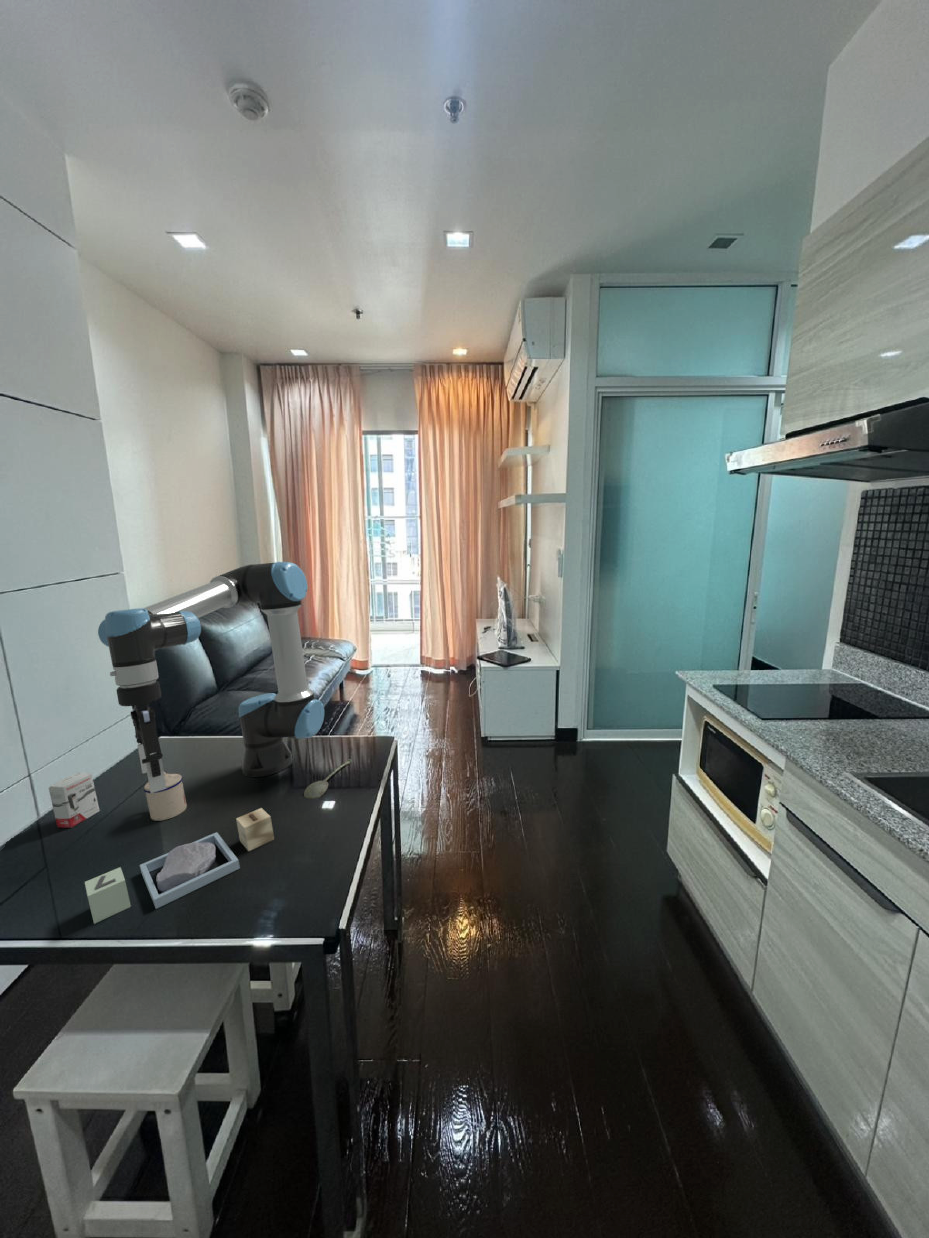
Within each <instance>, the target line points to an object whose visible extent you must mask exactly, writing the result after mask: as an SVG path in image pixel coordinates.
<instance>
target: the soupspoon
mask: <svg viewBox="0 0 929 1238" xmlns="http://www.w3.org/2000/svg"><path fill="white" fill-rule="evenodd" d="M351 764H353V761H352V759H347V760H346V762H343V764H342V765H340V766H339V767H337V768H336V769H334V771H332V772H331V773H330V774H328V776H326V777H325V778H324V779H323V780H317V781H314V782H312V783H311V784H309V785H308V786H307V787H306V788H305V790H304V792H303V797H304V798H306V799H318V798H321V797H322V796H323V795H324V794H325V792H327V789H328V788H329V782H328V780H329V779H330V778H331V777H332V776H333V775H334V774H335V773H337V772H338V771H339V770H340V769H342V768H343V767H344V766H347V765H351Z"/></svg>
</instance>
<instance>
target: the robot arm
mask: <svg viewBox="0 0 929 1238" xmlns="http://www.w3.org/2000/svg"><path fill="white" fill-rule="evenodd" d="M307 592H308V581H307V578H306V575H305V572H303V570H302V569H301V568H300V567H299V565H297V564H296V563H293V562H290V561H276V562H266V563H255V564H247V565H244V566H239V567H238V568H235V569H233V570H229V571H227V572H225V573H223V574H220V575H216V576H215V577H213V578H212V579H210V581H209V583H206V584H204V585H201V586H198V587H195V588H193V589H191V590H187V591H185V592H182V593H180V594H178V595H175V596H172V597H170V598H168V599H163V600H162V601H159V602H157V603H154V604H152V605H149V606H145V607H141V608H130V609H129V608H128V609H122V610H121V609H120V610H119V609H118V610H112V611H110V612H107V613H106V615H105V618H104V619H103V620H102V621H101V622H100V624H99V625H98V629H97V635H98V638H99V641H100V642H101V643H102V644H103V645H104V646H106V647H108V649H109V654H110V659H111V665H112V669H113V671H110V672H109V676H110V677H114V681H115V686H118V687H117V688H116V696H117V702H118V705H119V706H121V707H131V709H132V710H131V711H130V718H131V720H132V724H133V727H134V733H135V735H134V737H135V739H136V743H137V748H138V749H137V750H138V756H139V760H140V766H141V768H140V769H141V773H142V774H146V773H147V775H146V776H147V779H148V781H147V782H149V787H150V792H151V793H154V792H157V791H160V790H163V789H166V783H165V777H164V772H165V771H164V764H163V761H162V760H163V756H164V755H163V753H162V750H161V745H160V741H159V735H158V730H157V722H156V712H155V709H153V707H152V706H151V707H150V703H152V702H156V701H158V700H160V699H161V698H162V691H161V684H160V682H159V681H158V679H159V671H158V670H159V669H158V665H157V660H156V654H155V653H156V651H159V650H162V649H166V648H171V647H176V646H181V645H183V646H184V645H185V646H186V644H189V643H192V642H194V641H195V642H196V640H198V638H199V637H200V635H201V633H202V625H201V621H200V618H202V617H204V616H206V615H208V614H210V613H212V612H213V613H214V612H215V611H217V610H220V609H221V608H224V609H230V608H232V607H235V606H237V605H239V606H240V605H244V604H259V608H260V611H261V612H262V613H263V614H265V615H266V616H267V624H268V630H269V631H268V632H269V637H270V645H271V651H272V656H273V657H272V658H273V665H274V671H275V678H276V685H277V694H276V693H274V692H272V693H271V692H270V693H265V694H263V693H262V694H260V695H257V696H253V697H250V698H248V699H246V700H243V701H242V702H241V703H240V704H239V705H238V718H239V724H240V725H239V726H240V729H241V736H242V740H243V745H244V751H243V755H242V756H243V757H242V761H241V771H242V774H243V775H244V776H246V777H248V778H249V777H250V778H258V777H267V776H270V775H273V774H277V773H280V772H281V771H283V770H285V769H287V768H288V767H289V766H290V765H292V763H293V754H292V752H291V750H290V749H289V746H288V744H287V743H286V741H285V739H298V740H301V739H309V738H312V737H314V736H316V735H317V734H318V733H319V731H320V729H321V728H322V725H323V723H324V720H325V708H324V707H325V706H324V703H323V702H322V701H321V700H319V699H316V698H315V693H314V690H312V689H311V688H309V686H308V679H307V673H306V666H305V658H304V650H303V643H302V638H301V636H302V635H301V629H300V622H299V615H298V610H300V608H301V606H302V600H304V599H305V597H306V596H307ZM284 738H285V739H284Z"/></svg>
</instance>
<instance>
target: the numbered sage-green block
mask: <svg viewBox="0 0 929 1238" xmlns="http://www.w3.org/2000/svg"><path fill="white" fill-rule="evenodd" d="M126 883H127V882H126V879H125V876H124V873H123V870H122V868H121V866H120V867H117V868H114V869H112V870H110V871H108V872H106V873H102V874H101V875H98V876H96V877H94V878H91V879H89V880H86V881H84V885H85V890H86V895H87V900H88V904H89V908H90V912H91V916H92V920H93V922H92V923H93V924H94V925H95V924H96V923H99V922H101V921H103V920H105V919H107V918H109V917H112V916H114V915H116V914H119V913H120V912H122V911H125V910H127V909H129V908H130V907H132V906H131V901H130V896H129V892H128V891H129V890H128V887H127V884H126Z"/></svg>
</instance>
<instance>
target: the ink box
mask: <svg viewBox="0 0 929 1238" xmlns="http://www.w3.org/2000/svg"><path fill="white" fill-rule="evenodd" d="M48 793H49V796H50V802H51V806H52V810H53V813H54V819H55V823H56V826H57V828H65V829H66V828H67V829H69V828H70V829H71V828H74V827H75V826H77V825H79V824H80V823H83V822H84V821H86V820H87V819H89V818H90V817H92V816H94V815H95V814H97V813H99V812H101V811H100V807H99V802H98V797H97V793H96V788H95V784H94V779H93V774H92V772H76V773H73V774H72V775H69V776H67V777H65V778H64V779H61V780H59V781H57V782H55V783H53V784H51V785H50V786H49V787H48Z"/></svg>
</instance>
